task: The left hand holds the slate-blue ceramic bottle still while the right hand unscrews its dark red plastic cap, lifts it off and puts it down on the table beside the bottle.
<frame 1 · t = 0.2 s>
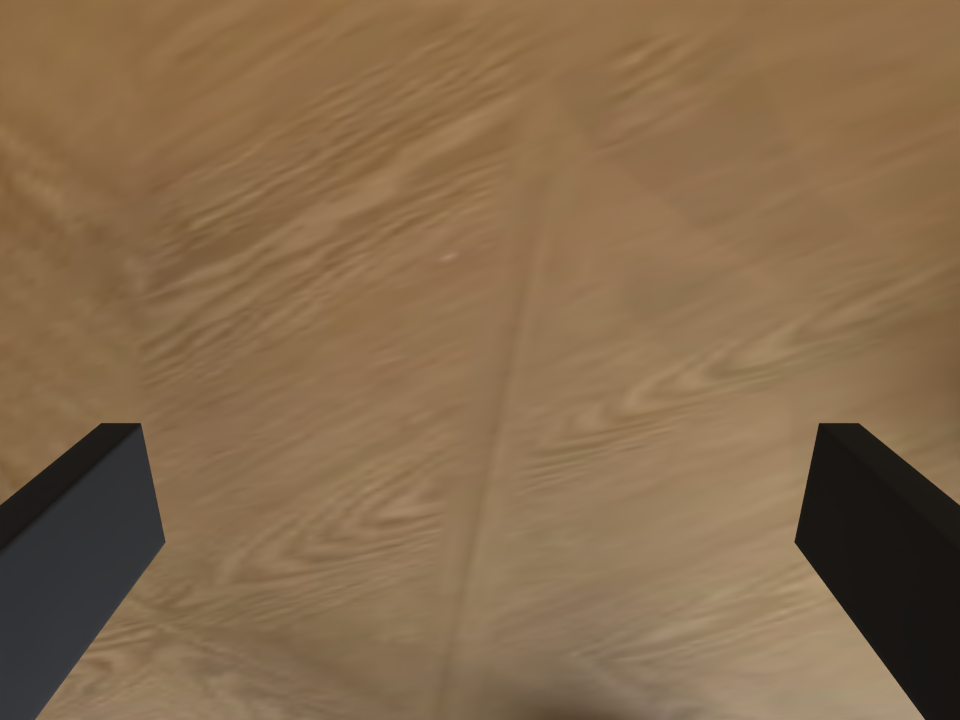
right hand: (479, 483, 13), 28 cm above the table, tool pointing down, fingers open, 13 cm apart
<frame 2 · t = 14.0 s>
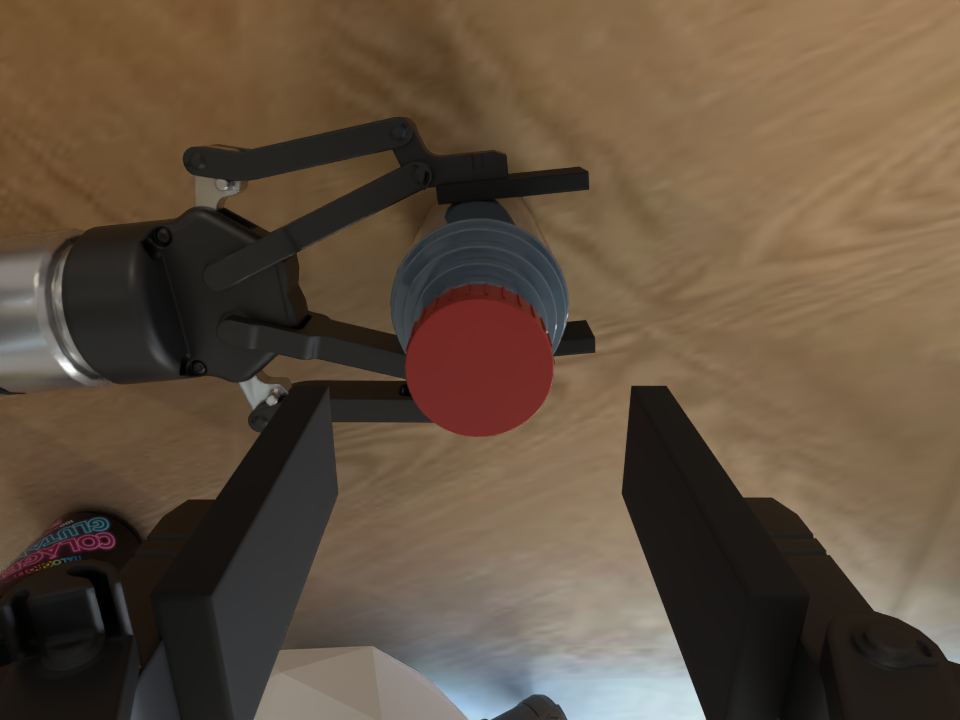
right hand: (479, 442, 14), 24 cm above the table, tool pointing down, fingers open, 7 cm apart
left hand: (586, 260, 30), fingers closed on bottle, 7 cm apart
supplement container: (103, 544, 44), on the table
cap: (479, 366, 19), point 19 cm above the table, screwed on, not yet turned
bottle: (479, 244, 37), on the table, touching left hand
sphere: (378, 696, 49), on the table
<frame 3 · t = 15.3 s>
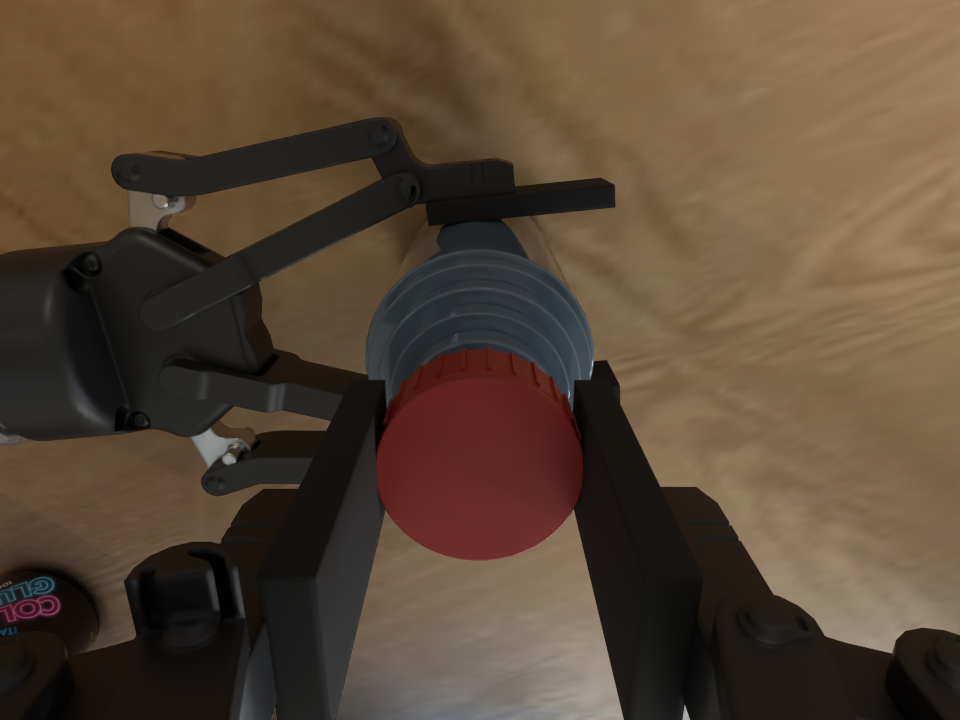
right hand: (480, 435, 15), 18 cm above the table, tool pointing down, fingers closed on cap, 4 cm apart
left hand: (609, 291, 25), fingers closed on bottle, 7 cm apart
supplement container: (51, 604, 38), on the table
cap: (479, 467, 13), point 19 cm above the table, screwed on, not yet turned, touching right hand
bottle: (479, 266, 31), on the table, touching left hand
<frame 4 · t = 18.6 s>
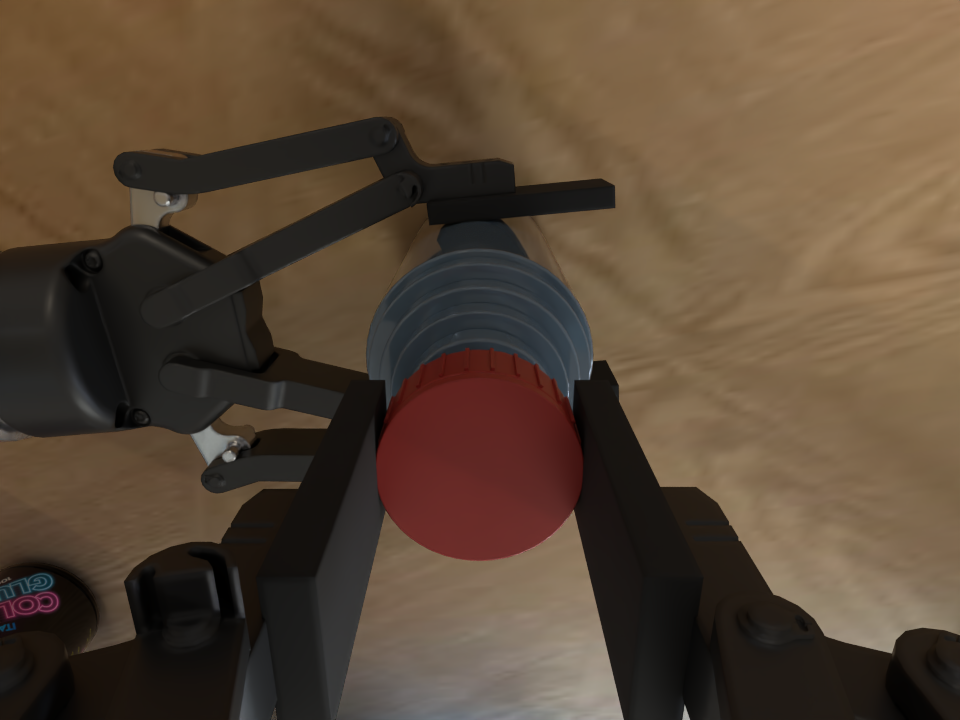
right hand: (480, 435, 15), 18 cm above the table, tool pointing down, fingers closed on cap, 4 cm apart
left hand: (609, 291, 25), fingers closed on bottle, 7 cm apart
supplement container: (49, 600, 38), on the table
cap: (479, 467, 13), point 19 cm above the table, turned 95° so far, risen 0.1 cm, still on its thread, touching right hand
bottle: (479, 265, 31), on the table, touching left hand
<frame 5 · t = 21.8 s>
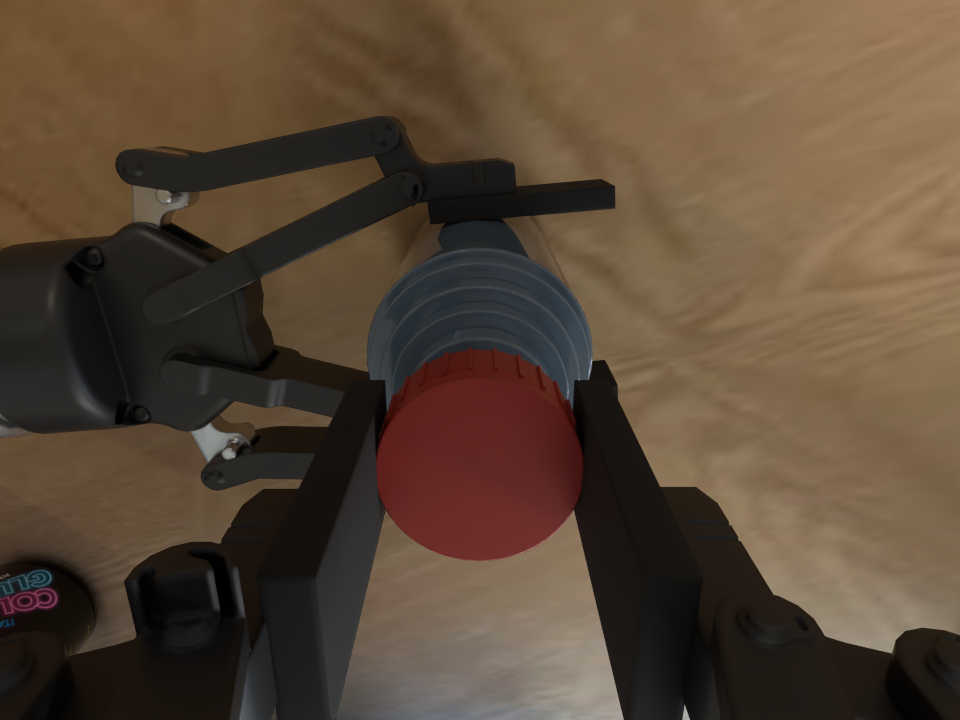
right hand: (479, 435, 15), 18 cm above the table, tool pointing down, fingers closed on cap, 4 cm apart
left hand: (608, 291, 25), fingers closed on bottle, 7 cm apart
supplement container: (48, 597, 39), on the table
cap: (479, 467, 13), point 19 cm above the table, turned 191° so far, risen 0.2 cm, still on its thread, touching right hand
bottle: (479, 265, 31), on the table, touching left hand
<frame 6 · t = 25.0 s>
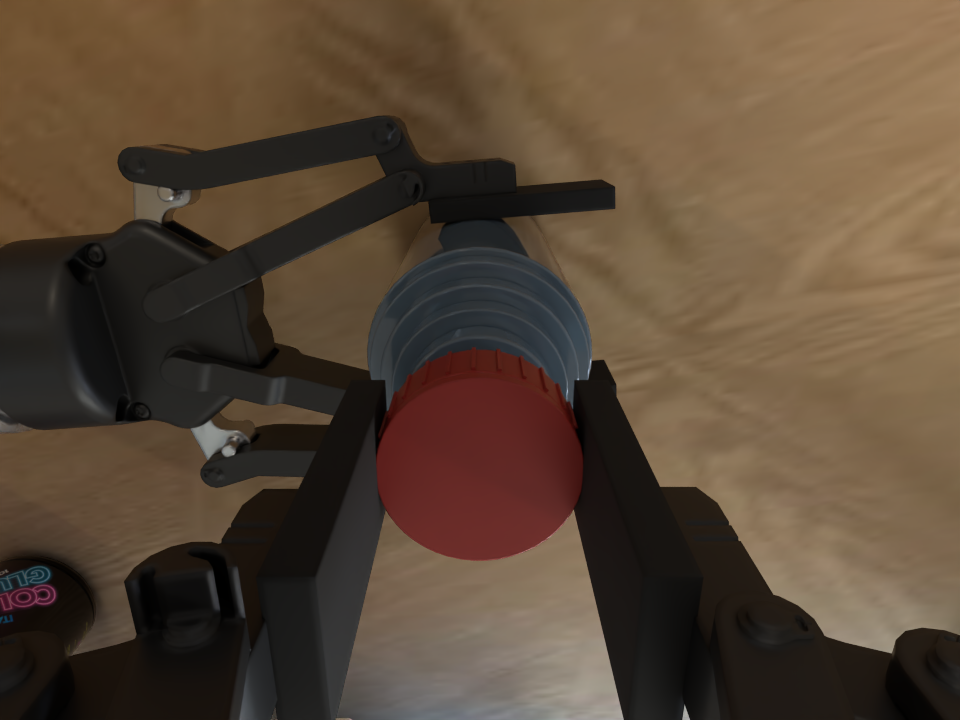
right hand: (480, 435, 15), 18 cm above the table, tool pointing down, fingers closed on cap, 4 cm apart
left hand: (608, 291, 25), fingers closed on bottle, 7 cm apart
supplement container: (46, 593, 39), on the table
cap: (479, 467, 13), point 19 cm above the table, turned 286° so far, risen 0.3 cm, still on its thread, touching right hand
bottle: (479, 264, 31), on the table, touching left hand
when the right hand's fingers open (2 cm above the table, at t = 36.4 s): cap drops 2 cm, point 1 cm above the table.
when the left hand's fingers open (7 cm above the table, at t = 37.6 s): bottle stays where it is, on the table.
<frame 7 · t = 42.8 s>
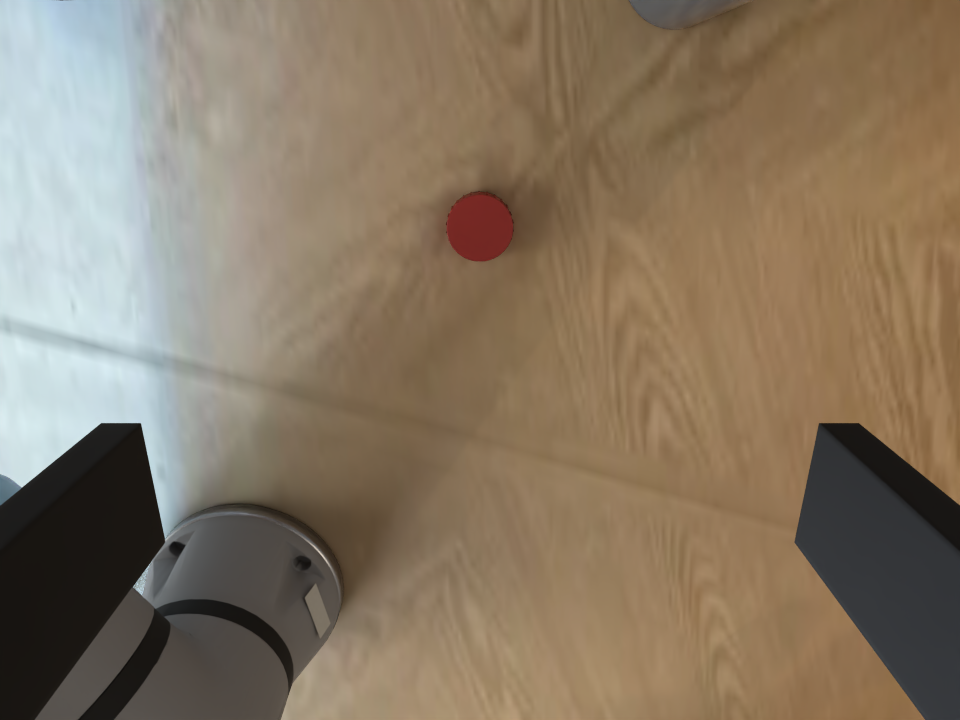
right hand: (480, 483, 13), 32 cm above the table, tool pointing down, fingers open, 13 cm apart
cap: (479, 228, 42), point 1 cm above the table, off its thread
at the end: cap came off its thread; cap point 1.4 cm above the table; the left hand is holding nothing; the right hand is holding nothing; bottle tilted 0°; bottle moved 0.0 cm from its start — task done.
